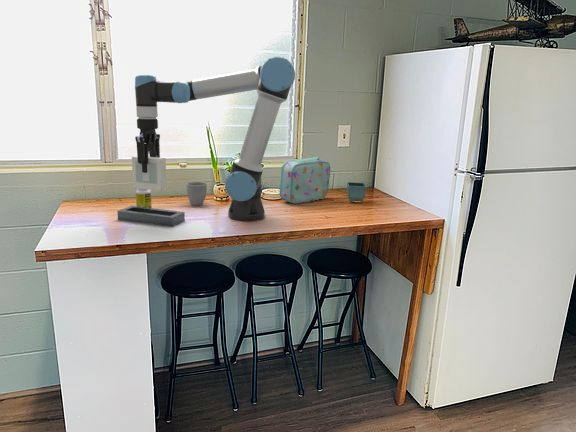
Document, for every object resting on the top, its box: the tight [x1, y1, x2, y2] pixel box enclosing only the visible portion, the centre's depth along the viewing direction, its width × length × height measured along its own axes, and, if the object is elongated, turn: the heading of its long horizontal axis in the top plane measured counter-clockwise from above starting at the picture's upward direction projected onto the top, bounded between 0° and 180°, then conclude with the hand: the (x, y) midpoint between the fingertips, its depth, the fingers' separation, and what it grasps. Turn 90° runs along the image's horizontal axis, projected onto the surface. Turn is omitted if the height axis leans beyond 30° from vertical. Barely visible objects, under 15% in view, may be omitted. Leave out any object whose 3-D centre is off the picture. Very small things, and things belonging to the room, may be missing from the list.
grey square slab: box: [131, 155, 167, 192], centre depth 180 cm, size 12×4×12 cm, turn 75°
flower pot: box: [346, 181, 368, 202], centre depth 230 cm, size 9×9×9 cm
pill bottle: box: [135, 188, 153, 208], centre depth 198 cm, size 6×6×11 cm
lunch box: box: [279, 156, 331, 205], centre depth 227 cm, size 27×10×21 cm, turn 133°
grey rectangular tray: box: [117, 205, 186, 227], centre depth 185 cm, size 24×10×4 cm, turn 74°
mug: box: [186, 181, 208, 207], centre depth 213 cm, size 12×9×10 cm
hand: (150, 179), depth 181 cm, fingers closed on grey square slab, 4 cm apart
